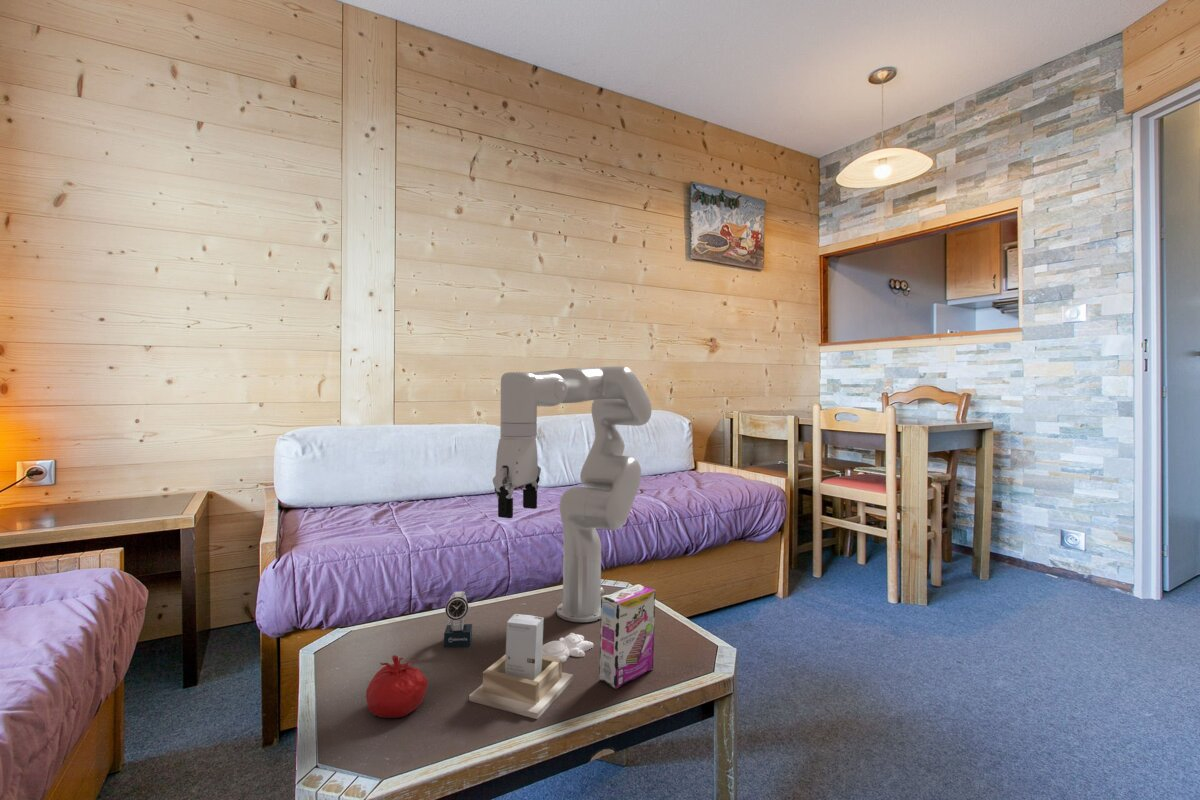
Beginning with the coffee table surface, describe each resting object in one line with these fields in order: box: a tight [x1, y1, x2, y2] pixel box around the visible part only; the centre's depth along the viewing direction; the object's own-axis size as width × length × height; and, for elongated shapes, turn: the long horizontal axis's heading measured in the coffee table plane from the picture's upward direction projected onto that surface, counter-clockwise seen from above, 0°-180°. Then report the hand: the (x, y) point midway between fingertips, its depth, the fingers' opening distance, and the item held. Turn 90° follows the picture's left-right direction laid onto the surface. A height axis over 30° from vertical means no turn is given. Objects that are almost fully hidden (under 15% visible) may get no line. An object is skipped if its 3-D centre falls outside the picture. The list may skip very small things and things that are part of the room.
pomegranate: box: [365, 654, 429, 719], centre depth 96 cm, size 10×10×9 cm
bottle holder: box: [468, 653, 574, 720], centre depth 103 cm, size 14×14×4 cm
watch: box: [443, 591, 473, 649], centre depth 122 cm, size 6×8×11 cm
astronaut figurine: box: [542, 632, 594, 663], centre depth 118 cm, size 9×12×3 cm
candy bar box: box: [598, 584, 656, 689], centre depth 108 cm, size 11×5×16 cm, turn 134°
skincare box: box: [505, 613, 545, 680], centre depth 103 cm, size 6×4×12 cm
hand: (518, 512), depth 115 cm, fingers open, 9 cm apart
